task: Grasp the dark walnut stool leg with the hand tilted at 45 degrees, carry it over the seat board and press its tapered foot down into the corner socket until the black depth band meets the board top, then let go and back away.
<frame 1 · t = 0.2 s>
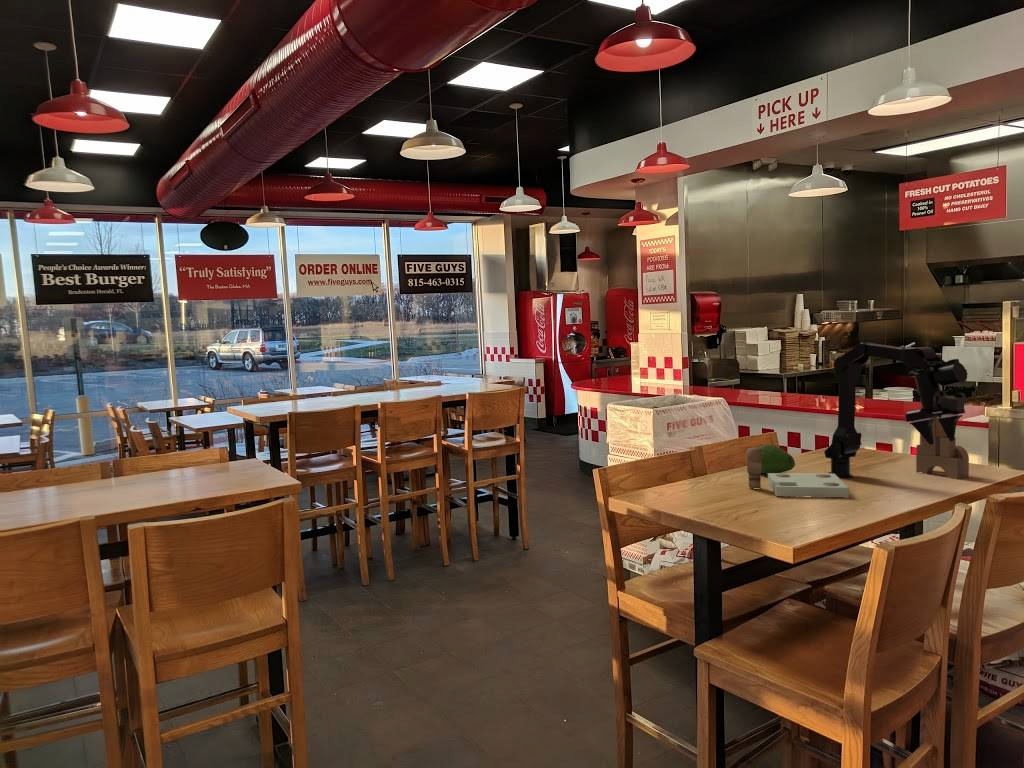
hand: (942, 442, 207), 15 cm above the table, tool pointing down, fingers open, 9 cm apart
fruit: (772, 474, 246), on the table
wooden toy: (940, 474, 236), on the table
seat board: (806, 489, 222), on the table
stool leg: (754, 488, 227), on the table
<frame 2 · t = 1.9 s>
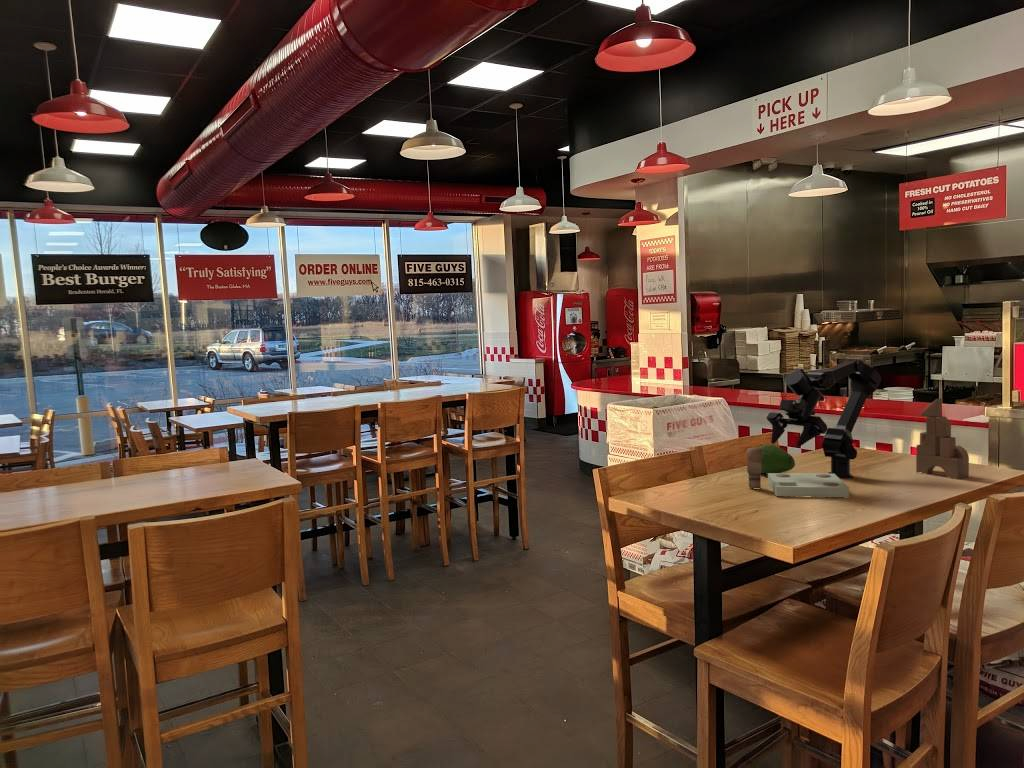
hand: (784, 444, 224), 14 cm above the table, tool tilted 40°, fingers open, 9 cm apart
nothing on the table moved.
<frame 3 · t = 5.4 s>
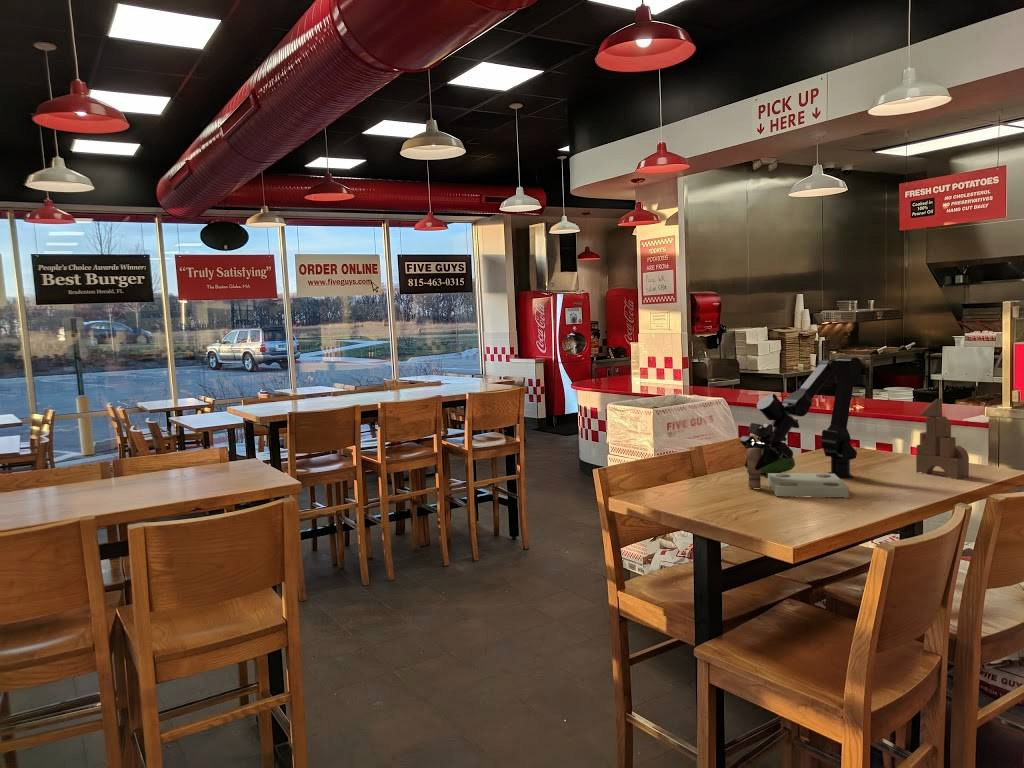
hand: (750, 468, 226), 7 cm above the table, tool tilted 45°, fingers closed on stool leg, 4 cm apart
stool leg: (754, 488, 227), on the table, touching gripper
everything else where it was.
when the fingers open (7 cm above the table, at t = 9.3 s): stool leg stays where it is, resting in seat board.
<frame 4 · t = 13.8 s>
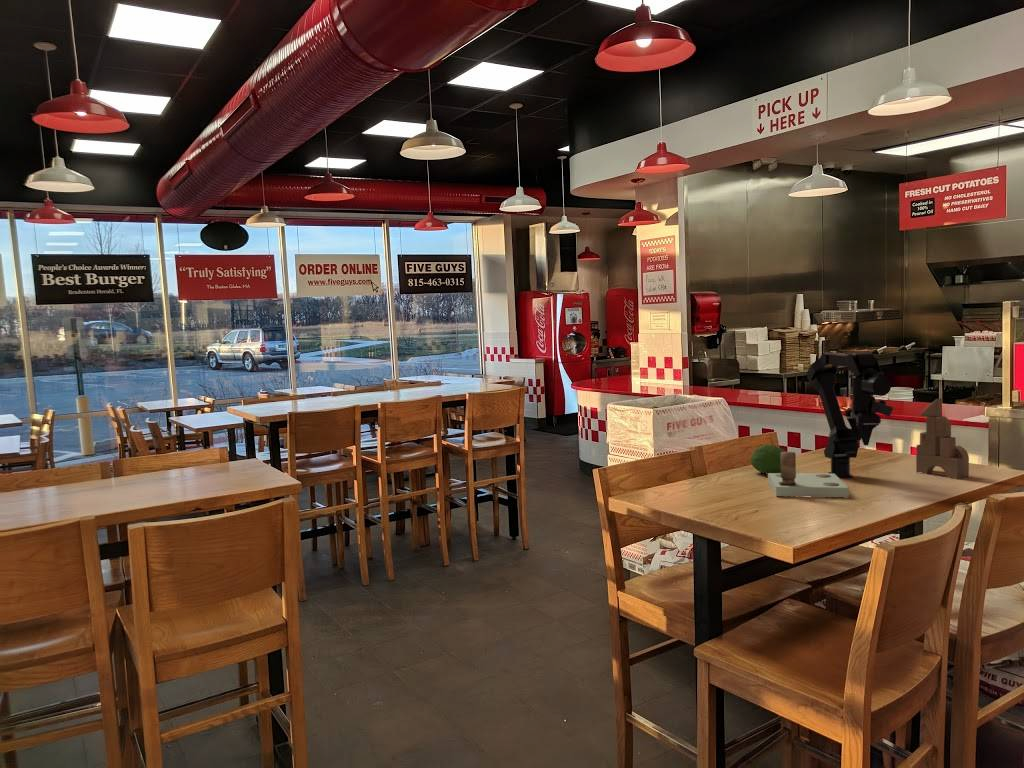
hand: (862, 442, 226), 13 cm above the table, tool pointing down, fingers open, 9 cm apart
stool leg: (788, 493, 218), resting in seat board
everything else where it was.
at the end: stool leg 0.0 cm from the target spot on the seat board, point 0.0 cm above the seat board's base; stool leg tilted 0°; the gripper is holding nothing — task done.
